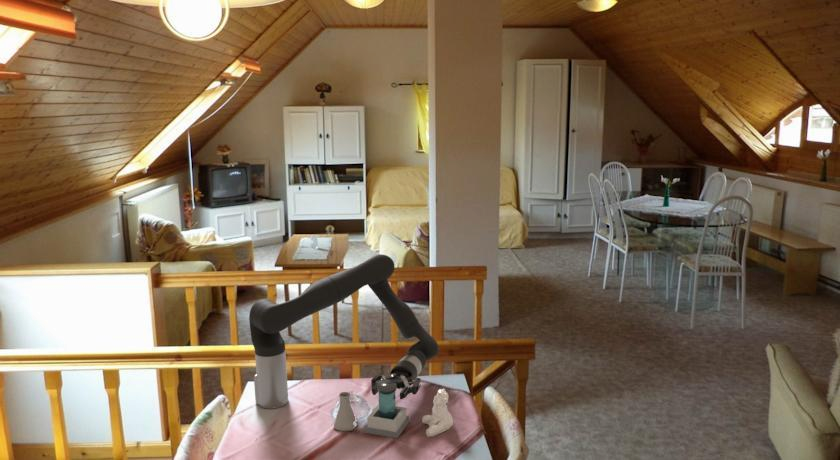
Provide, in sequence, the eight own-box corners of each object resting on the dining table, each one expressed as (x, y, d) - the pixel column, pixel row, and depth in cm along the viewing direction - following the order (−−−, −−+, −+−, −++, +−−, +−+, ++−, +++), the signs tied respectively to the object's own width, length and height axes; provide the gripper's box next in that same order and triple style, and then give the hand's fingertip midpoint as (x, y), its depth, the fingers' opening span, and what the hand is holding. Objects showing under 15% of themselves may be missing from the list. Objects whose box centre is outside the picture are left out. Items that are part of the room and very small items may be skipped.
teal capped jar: (374, 425, 182) (373, 387, 179) (381, 415, 187) (381, 378, 184) (392, 428, 180) (392, 390, 177) (399, 418, 185) (399, 381, 182)
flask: (353, 433, 181) (352, 401, 178) (329, 430, 182) (328, 399, 180) (361, 420, 187) (360, 389, 185) (337, 418, 189) (336, 387, 187)
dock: (364, 432, 181) (364, 418, 180) (378, 415, 190) (377, 402, 189) (397, 438, 177) (397, 423, 176) (409, 421, 187) (409, 407, 186)
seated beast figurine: (420, 421, 187) (420, 383, 184) (449, 418, 188) (449, 380, 186) (427, 437, 178) (426, 398, 175) (456, 434, 179) (457, 395, 177)
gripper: (385, 357, 198) (364, 378, 183) (428, 362, 194) (410, 385, 179) (385, 379, 200) (364, 402, 185) (428, 385, 195) (410, 409, 180)
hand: (387, 394), depth 182 cm, fingers open, 8 cm apart
